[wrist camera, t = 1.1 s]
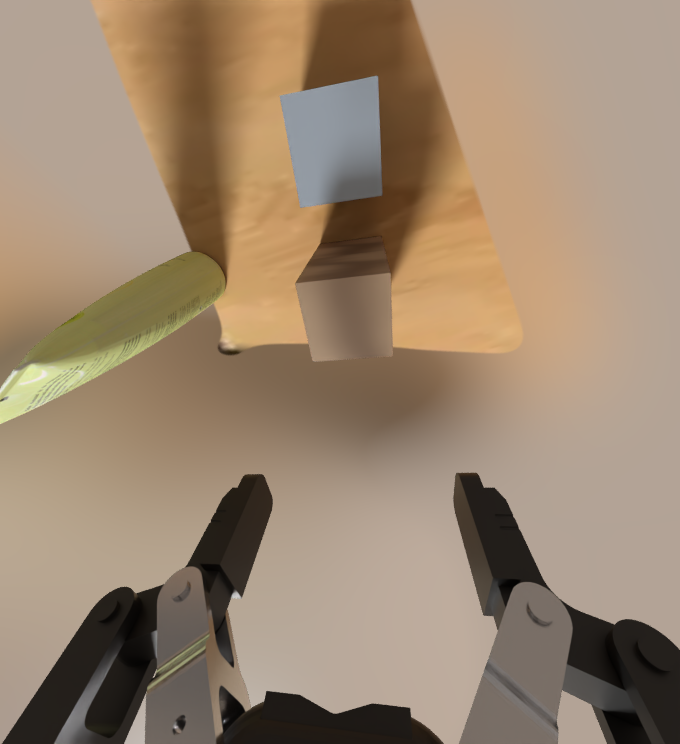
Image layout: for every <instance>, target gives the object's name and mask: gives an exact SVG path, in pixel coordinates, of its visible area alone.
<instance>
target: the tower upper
mask: <svg viewBox="0 0 680 744" xmlns="http://www.w3.org/2000/svg"><path fill="white" fill-rule="evenodd" d="M295 285H296V290H297V294H298V298H299V303H300V307H301V312H302V316H303V321H304V325H305V330H306V334H307V338H308V343H309V347H310V352H311V356H312V361H313V362H315V361H316V362H317V361H331V360H345V359H358V358H372V357H386V356H393V343H392V305H391V272H390V268H389V264H388V260H387V257H386V253H385V250H383V251H375V252H367V253H359V254H351V255H342V256H334V257H326V258H318V259H310V261H309V262H308V264H307V265H306V267H305V268H304V270H303V272H302V273H301V275H300V276H299V278H298V280H297V281H296V283H295Z"/></svg>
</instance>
